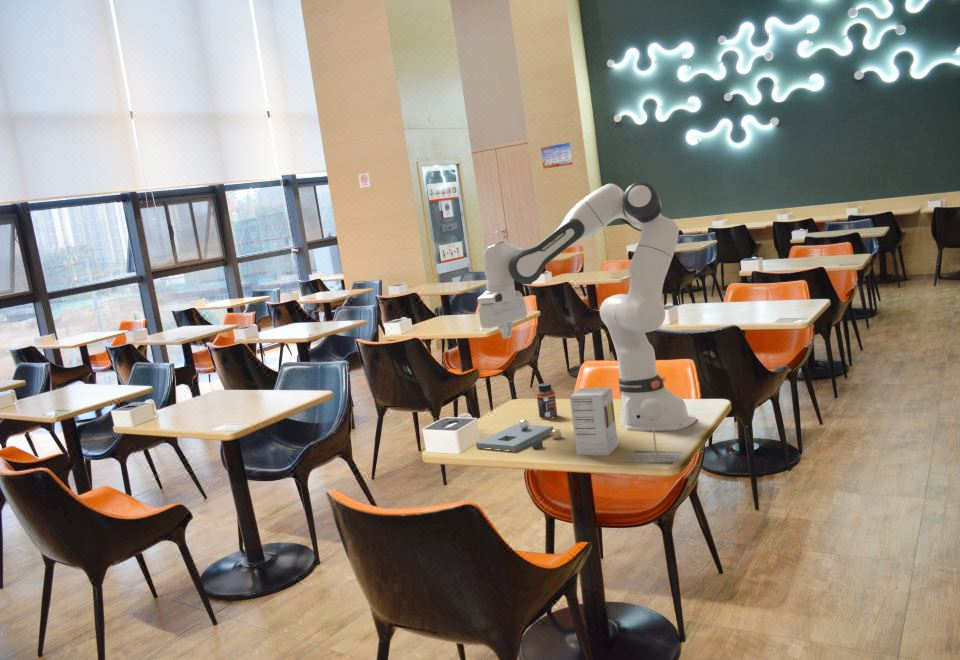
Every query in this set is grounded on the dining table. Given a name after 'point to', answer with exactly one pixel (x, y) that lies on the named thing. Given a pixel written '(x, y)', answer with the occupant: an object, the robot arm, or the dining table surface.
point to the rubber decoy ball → (537, 444)
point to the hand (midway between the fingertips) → (507, 337)
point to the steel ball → (524, 424)
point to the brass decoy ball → (556, 434)
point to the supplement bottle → (546, 401)
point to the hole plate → (515, 437)
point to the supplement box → (594, 421)
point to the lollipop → (651, 413)
